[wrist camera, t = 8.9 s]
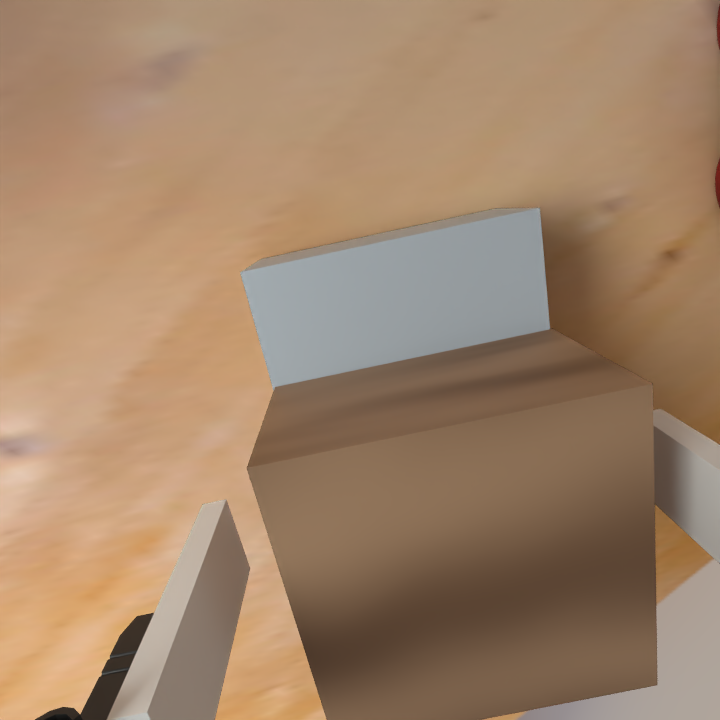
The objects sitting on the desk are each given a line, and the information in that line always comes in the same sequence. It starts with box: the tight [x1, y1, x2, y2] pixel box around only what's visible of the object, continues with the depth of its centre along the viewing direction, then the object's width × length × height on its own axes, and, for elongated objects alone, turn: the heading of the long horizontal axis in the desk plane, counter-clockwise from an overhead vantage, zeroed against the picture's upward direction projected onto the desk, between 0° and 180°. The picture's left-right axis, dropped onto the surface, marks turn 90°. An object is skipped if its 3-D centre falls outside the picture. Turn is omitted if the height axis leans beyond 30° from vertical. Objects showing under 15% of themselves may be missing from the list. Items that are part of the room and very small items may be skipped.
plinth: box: [240, 208, 550, 390], centre depth 18 cm, size 16×9×4 cm, turn 12°
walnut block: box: [247, 329, 657, 720], centre depth 14 cm, size 9×9×5 cm
